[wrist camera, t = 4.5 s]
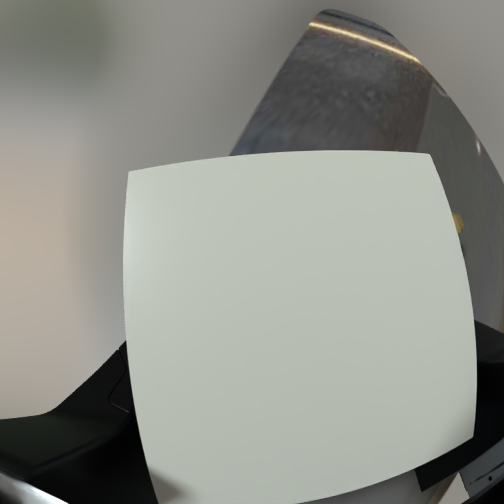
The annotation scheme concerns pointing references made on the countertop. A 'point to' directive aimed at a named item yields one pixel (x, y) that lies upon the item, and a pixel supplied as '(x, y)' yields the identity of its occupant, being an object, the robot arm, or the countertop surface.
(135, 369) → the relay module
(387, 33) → the countertop surface
